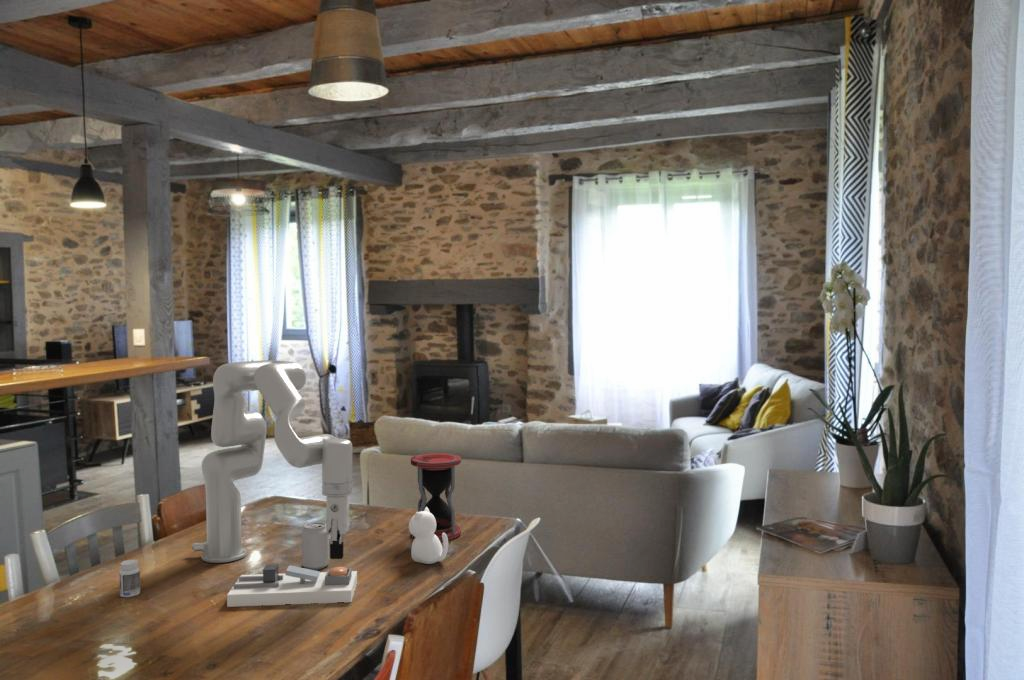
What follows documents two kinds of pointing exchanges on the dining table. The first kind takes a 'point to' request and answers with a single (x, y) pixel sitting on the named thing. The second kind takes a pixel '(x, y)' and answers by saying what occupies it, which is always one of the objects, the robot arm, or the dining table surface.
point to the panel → (292, 590)
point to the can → (315, 546)
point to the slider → (271, 573)
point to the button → (338, 571)
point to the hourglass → (438, 490)
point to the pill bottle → (129, 578)
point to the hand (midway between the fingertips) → (336, 557)
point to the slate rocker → (302, 573)
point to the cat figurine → (426, 539)
